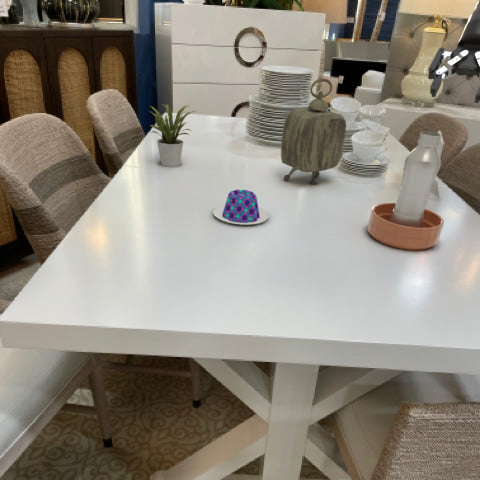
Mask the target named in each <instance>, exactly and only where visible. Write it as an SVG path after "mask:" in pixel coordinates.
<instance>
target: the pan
mask: <svg viewBox="0 0 480 480" xmlns="http://www.w3.org/2000/svg"><path fill="white" fill-rule="evenodd" d="M395 204H396V202H383V203H378V204H376V205H374V206H373V207H372V209H371V212H370V215H369V216H370V217H369V221H368V225H367V231H368V233H369V235H371V236H372V238H373V239H374V240H376V241H377V242H378V243H381V244H384V245H385V246H388V247H392V248H395V249H399V250H400V249H401V250H407V251H422V250H427V249H430V248H432V247H435V246H436V245H437V244H438V243H439V240H440V236H441V233H442V230H443V228H444V222H445V221H444V219H443V218H442V216H441V215H439V214H437V213H436V212H435V211H432V210H429V209H427V208H425V210H424V214H423V215H424V217H423V224H422V227H421V228H416V227H408V226H403V225H398V224H395V223H392V222H389V218H390V215H391V213H392V211H393V209H394V207H395Z"/></svg>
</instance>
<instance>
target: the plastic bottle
mask: <svg viewBox="0 0 480 480" xmlns="http://www.w3.org/2000/svg"><path fill="white" fill-rule="evenodd" d="M441 136H442V135H441V134H440V133H438V132H433V131H420V133H419V136H418V139H417V142H416V143H417V146H416V147H414V148H413V149H412V150H411V151H410V152H409V153H408V155H407V156H406V158H405V160H404V165H403V173H402V180H401V184H400V189H399V193H398V196H397V199H396V202H395V203H396V204H395V207H394V209H393V211H392V213H391V215H390V218H389V222H392V223H395V224H398V225H403V226H408V227H416V228H421V227H422V224H423V217H424V215H423V214H424V210H425V209H426V204H427V201H428V197H429V194H430V192H431V190H432V189H431V188H432V185H433V183H434V182H435V179H436V177H437V175H438V174H439V171H440V168H441V167H442V166H441V165H442V161H441V157H440V154H439V151H438V149H437V147H439V146H440V139H441Z"/></svg>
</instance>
